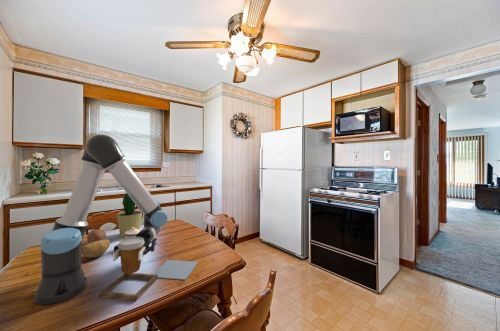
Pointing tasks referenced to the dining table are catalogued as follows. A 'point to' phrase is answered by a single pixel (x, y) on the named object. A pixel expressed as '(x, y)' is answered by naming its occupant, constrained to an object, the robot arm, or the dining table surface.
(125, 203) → the potted cactus
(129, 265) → the disposable coffee cup
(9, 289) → the dining table surface
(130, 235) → the teacup with lid
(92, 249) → the potato
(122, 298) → the walnut collar
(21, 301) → the dining table surface
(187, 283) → the dining table surface
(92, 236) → the onion
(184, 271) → the slate mat
